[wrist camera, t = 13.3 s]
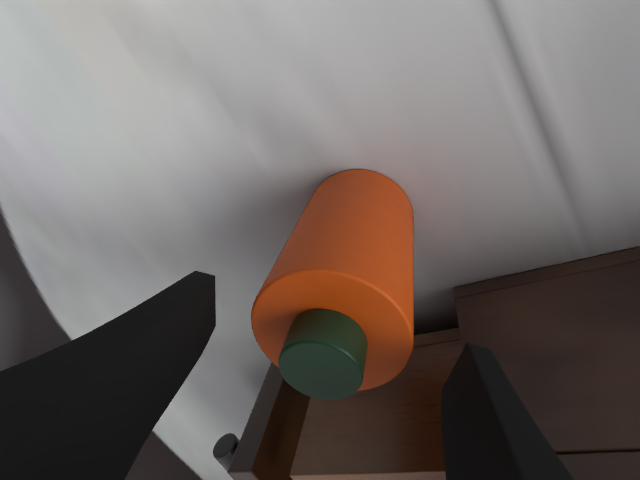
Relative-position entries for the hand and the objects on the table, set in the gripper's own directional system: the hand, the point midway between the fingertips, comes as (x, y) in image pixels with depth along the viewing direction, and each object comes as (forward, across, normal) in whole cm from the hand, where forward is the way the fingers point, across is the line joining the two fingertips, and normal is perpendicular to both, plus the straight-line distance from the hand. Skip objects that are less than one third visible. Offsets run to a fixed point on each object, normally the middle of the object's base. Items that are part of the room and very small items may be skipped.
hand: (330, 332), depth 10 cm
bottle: (+7, 0, 0) cm, 7 cm away
